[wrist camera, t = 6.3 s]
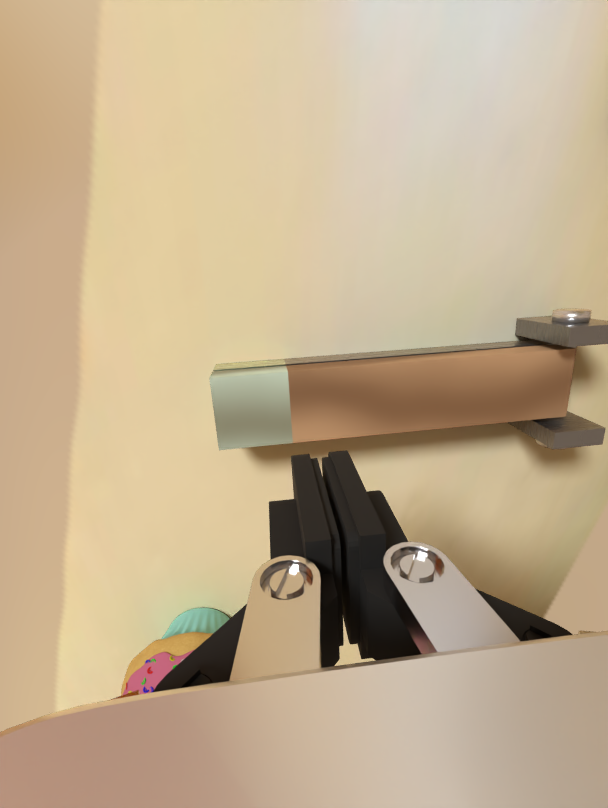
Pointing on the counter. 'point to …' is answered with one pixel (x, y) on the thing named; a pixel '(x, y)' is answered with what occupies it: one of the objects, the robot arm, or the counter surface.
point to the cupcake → (171, 649)
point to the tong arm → (390, 395)
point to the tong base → (547, 330)
